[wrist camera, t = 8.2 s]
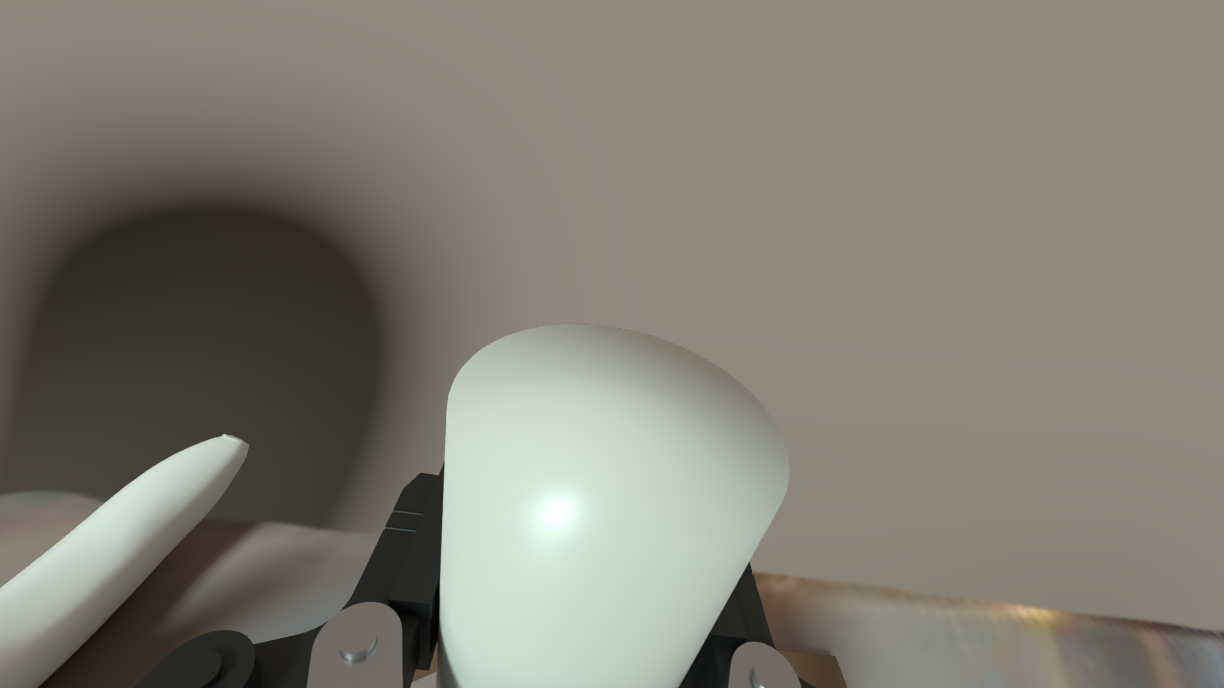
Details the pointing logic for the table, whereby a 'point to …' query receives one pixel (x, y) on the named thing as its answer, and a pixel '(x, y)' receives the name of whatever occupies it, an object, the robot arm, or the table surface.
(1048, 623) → the table surface
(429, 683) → the collar
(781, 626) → the table surface
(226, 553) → the table surface
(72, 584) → the white bird figurine
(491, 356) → the white rounded cylinder
